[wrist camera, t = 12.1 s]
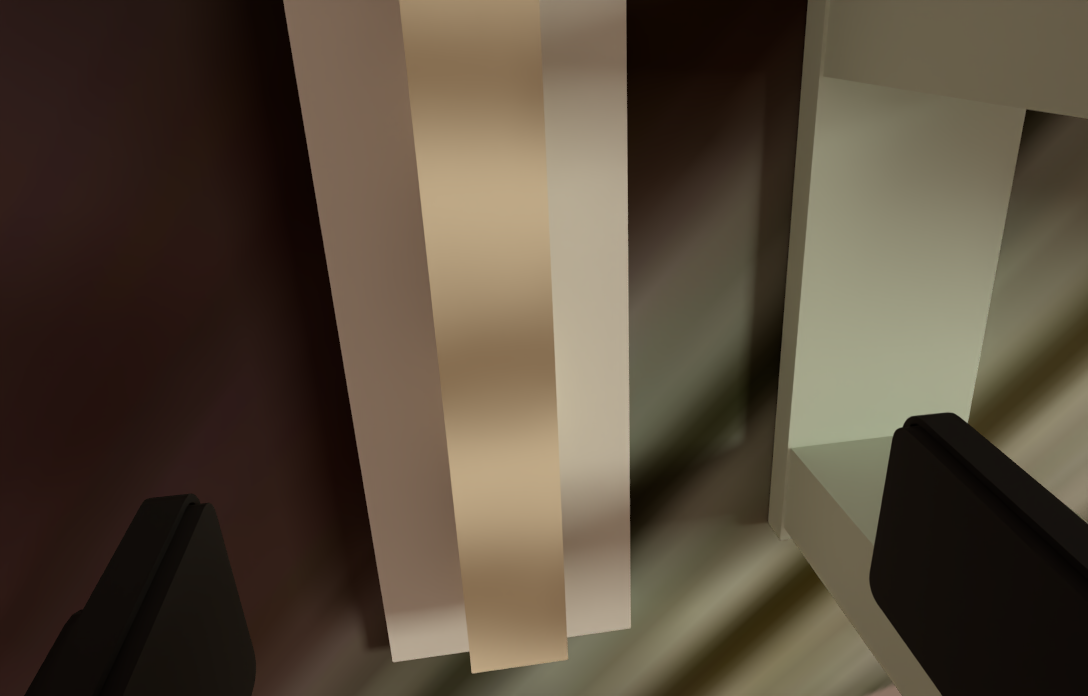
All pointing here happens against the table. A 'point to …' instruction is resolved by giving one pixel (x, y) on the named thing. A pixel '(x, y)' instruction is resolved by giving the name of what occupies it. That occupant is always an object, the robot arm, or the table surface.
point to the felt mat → (407, 316)
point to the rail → (492, 313)
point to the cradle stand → (898, 252)
